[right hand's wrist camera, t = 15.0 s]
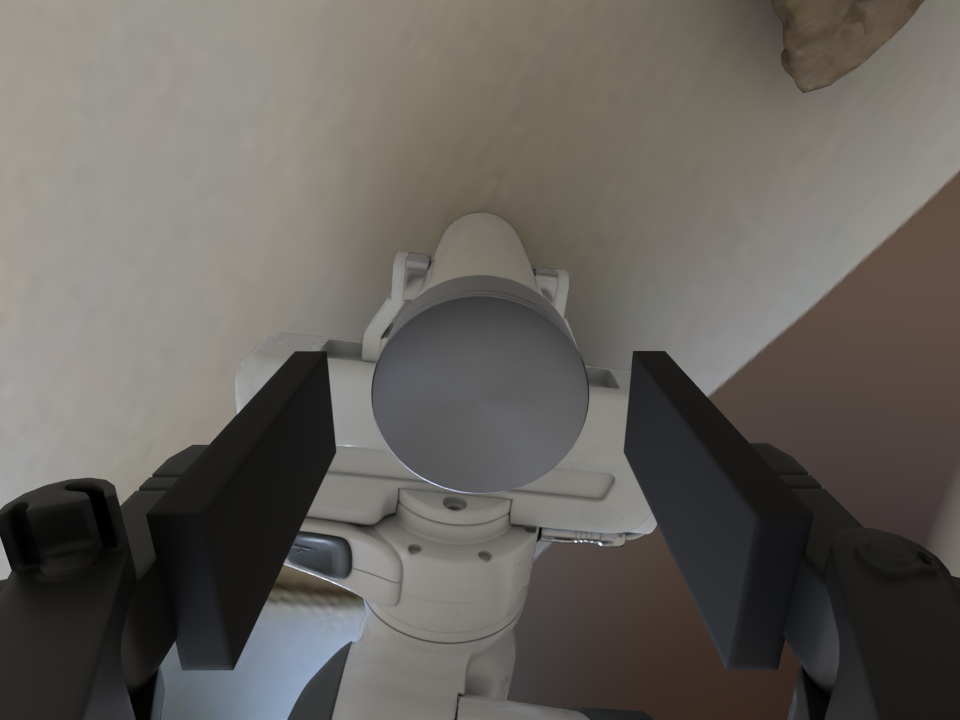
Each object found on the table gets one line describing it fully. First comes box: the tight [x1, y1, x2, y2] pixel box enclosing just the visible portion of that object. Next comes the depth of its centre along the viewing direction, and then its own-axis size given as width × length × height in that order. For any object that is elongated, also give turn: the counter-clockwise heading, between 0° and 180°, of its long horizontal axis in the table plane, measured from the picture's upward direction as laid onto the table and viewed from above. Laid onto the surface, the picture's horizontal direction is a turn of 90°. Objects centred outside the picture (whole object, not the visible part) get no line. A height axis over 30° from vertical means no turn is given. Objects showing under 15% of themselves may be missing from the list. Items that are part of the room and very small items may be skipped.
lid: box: [371, 275, 589, 494], centre depth 15 cm, size 5×5×2 cm
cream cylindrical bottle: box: [417, 212, 543, 297], centre depth 22 cm, size 5×5×18 cm
